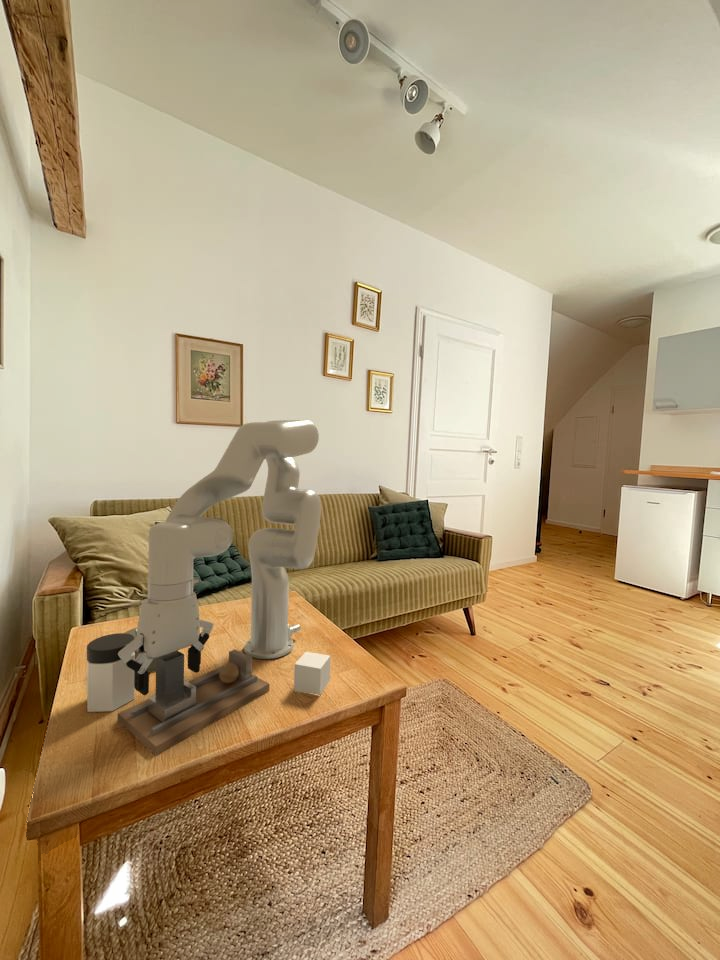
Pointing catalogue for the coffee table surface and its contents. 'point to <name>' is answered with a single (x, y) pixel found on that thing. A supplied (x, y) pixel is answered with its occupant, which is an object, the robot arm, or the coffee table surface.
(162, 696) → the handle
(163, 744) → the board
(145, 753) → the coffee table surface
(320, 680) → the white cube
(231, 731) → the coffee table surface
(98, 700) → the jar
